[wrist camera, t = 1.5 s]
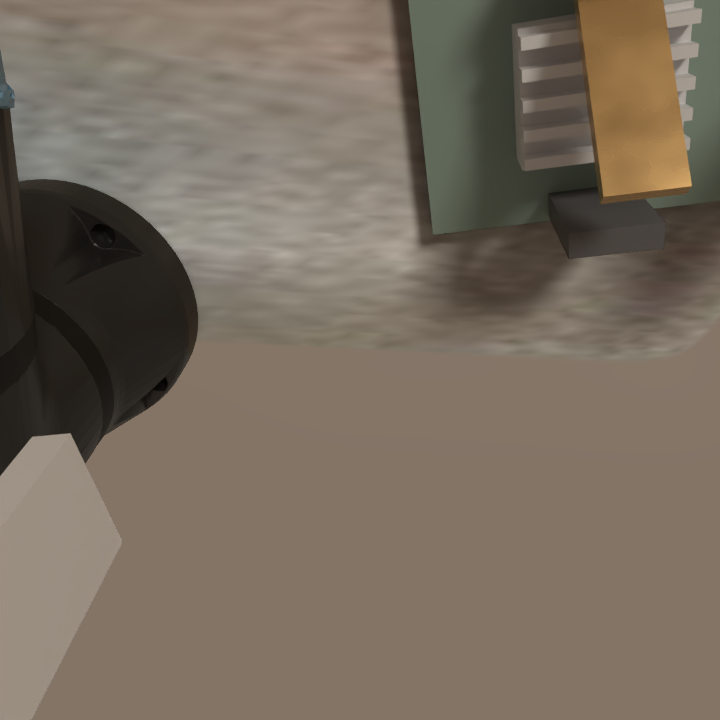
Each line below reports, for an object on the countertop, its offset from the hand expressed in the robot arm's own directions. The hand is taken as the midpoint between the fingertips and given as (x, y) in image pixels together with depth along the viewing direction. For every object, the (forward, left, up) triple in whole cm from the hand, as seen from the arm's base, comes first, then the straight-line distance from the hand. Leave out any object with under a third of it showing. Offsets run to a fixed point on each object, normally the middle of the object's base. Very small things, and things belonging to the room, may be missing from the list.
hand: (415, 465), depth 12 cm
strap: (+8, +2, -19) cm, 21 cm away
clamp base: (+8, +2, -26) cm, 27 cm away
